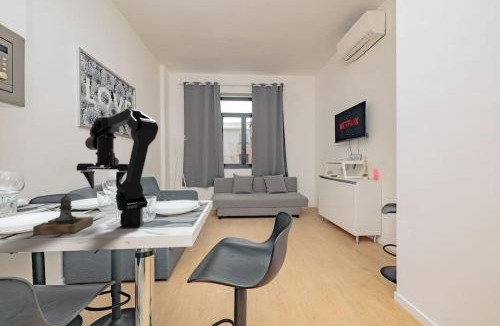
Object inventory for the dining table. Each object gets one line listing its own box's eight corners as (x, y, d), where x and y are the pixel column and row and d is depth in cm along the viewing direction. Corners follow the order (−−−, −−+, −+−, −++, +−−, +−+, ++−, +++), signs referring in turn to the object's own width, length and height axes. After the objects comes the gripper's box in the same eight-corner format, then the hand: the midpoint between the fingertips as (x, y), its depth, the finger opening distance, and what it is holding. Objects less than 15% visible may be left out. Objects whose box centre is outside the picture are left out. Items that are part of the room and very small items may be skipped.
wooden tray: (92, 223, 91) (92, 216, 91) (75, 233, 79) (75, 225, 79) (56, 224, 89) (57, 217, 89) (33, 234, 77) (33, 226, 77)
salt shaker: (50, 230, 82) (50, 194, 82) (68, 225, 88) (68, 192, 87) (62, 232, 80) (63, 195, 80) (80, 227, 86) (80, 193, 86)
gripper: (136, 151, 108) (135, 186, 108) (89, 150, 105) (89, 186, 105) (127, 150, 97) (127, 189, 97) (75, 149, 94) (75, 189, 94)
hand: (105, 188), depth 99 cm, fingers open, 9 cm apart
